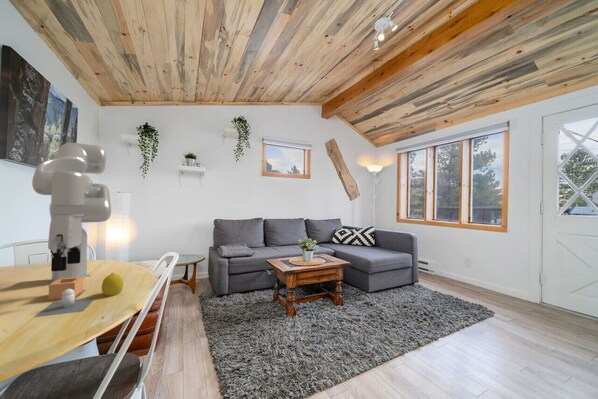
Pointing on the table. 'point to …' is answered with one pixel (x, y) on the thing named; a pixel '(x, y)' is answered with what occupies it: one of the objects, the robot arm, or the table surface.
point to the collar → (65, 287)
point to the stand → (61, 299)
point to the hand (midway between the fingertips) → (66, 266)
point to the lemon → (112, 285)
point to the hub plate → (59, 310)
